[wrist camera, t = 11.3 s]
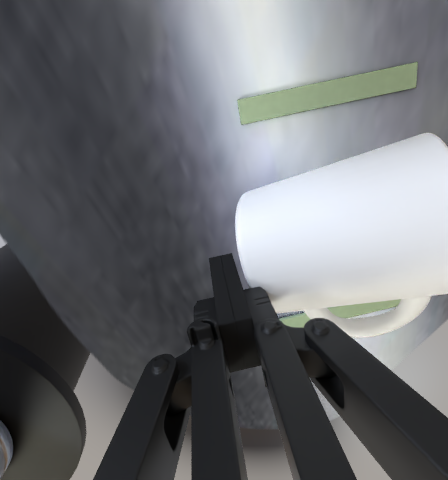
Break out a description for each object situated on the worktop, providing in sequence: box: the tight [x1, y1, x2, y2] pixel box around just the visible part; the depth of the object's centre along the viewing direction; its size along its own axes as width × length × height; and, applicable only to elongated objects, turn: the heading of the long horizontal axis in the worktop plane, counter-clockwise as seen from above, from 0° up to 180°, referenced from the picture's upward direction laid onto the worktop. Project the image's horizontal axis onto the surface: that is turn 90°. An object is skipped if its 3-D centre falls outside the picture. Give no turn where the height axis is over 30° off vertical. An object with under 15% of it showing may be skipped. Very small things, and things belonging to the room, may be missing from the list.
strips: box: [237, 62, 418, 328], centre depth 22 cm, size 12×20×1 cm, turn 11°
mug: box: [235, 133, 448, 338], centre depth 17 cm, size 12×10×8 cm
